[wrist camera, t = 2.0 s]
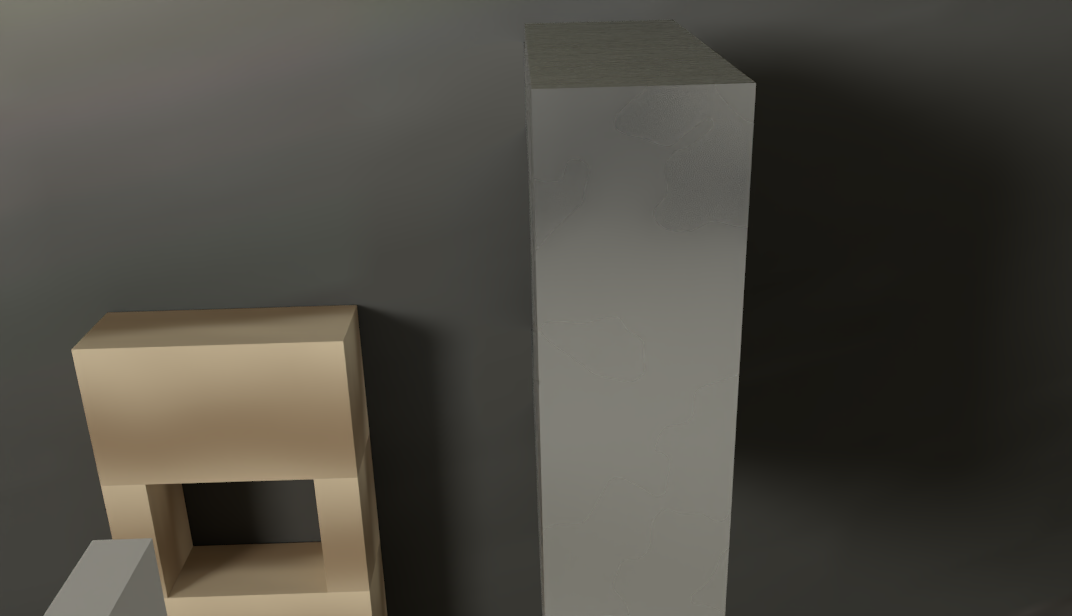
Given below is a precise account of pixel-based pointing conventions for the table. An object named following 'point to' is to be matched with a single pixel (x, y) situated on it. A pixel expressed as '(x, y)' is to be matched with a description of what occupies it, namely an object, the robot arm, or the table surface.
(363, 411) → the wooden ladder frame
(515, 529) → the table surface
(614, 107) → the grey flat block
